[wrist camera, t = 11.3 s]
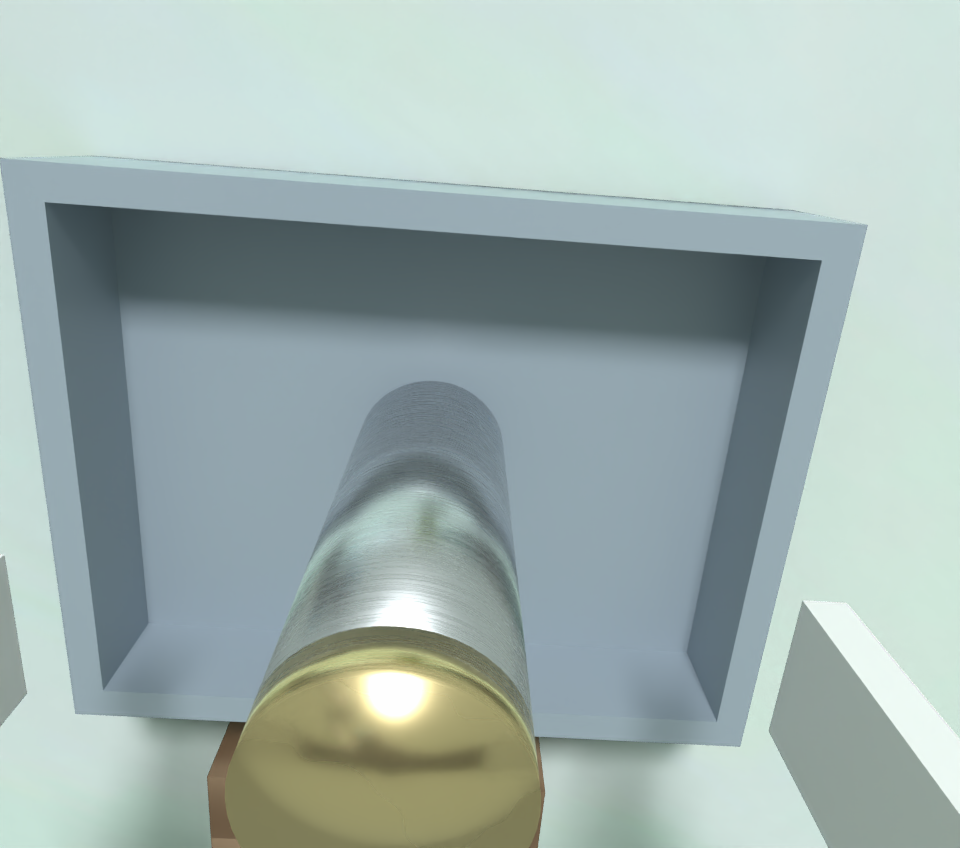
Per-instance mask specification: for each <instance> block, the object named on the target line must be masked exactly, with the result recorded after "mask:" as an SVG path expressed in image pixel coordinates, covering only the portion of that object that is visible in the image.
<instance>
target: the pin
mask: <svg viewBox="0 0 960 848" xmlns="http://www.w3.org/2000/svg"><path fill="white" fill-rule="evenodd" d="M225 804H226V811H227V816H228V819H229V822H230V826H231V829H232V831H233V833H234V835H235V837H236V839H237V841H238V843H239V845H240V846H241V848H529V847H530V845H531V843H532V841H533V838H534V836H535V833H536V831H537V827H538V823H539V818H540V814H541V790H540V781H539V772H538V763H537V753H536V744H535V735H534V726H533V716H532V707H531V698H530V688H529V679H528V670H527V661H526V651H525V642H524V633H523V624H522V614H521V605H520V596H519V586H518V577H517V568H516V559H515V549H514V540H513V531H512V522H511V512H510V503H509V494H508V484H507V475H506V466H505V457H504V447H503V439H502V434H501V430H500V427H499V425H498V423H497V420H496V419H495V417H494V415H493V414H492V412H491V411H490V409H489V408H488V407H487V406H486V405H485V404H484V403H483V402H482V401H481V400H480V399H479V398H478V397H476V396H475V395H474V394H472V393H471V392H469V391H467V390H465V389H464V388H461V387H459V386H456V385H454V384H450V383H446V382H440V381H420V382H414V383H410V384H406V385H403V386H401V387H398V388H396V389H394V390H392V391H391V392H389V393H388V394H386V395H385V396H383V397H382V398H381V399H380V400H379V401H378V402H377V403H376V404H375V405H374V406H373V407H372V409H371V410H370V411H369V413H368V415H367V416H366V418H365V420H364V423H363V425H362V428H361V430H360V433H359V435H358V438H357V440H356V443H355V446H354V448H353V451H352V453H351V456H350V458H349V461H348V463H347V466H346V468H345V471H344V474H343V476H342V479H341V481H340V484H339V486H338V489H337V491H336V494H335V497H334V499H333V502H332V504H331V507H330V509H329V512H328V514H327V517H326V519H325V522H324V525H323V527H322V530H321V532H320V535H319V537H318V540H317V542H316V545H315V548H314V550H313V553H312V555H311V558H310V560H309V563H308V565H307V568H306V571H305V573H304V576H303V578H302V581H301V583H300V586H299V588H298V591H297V593H296V596H295V599H294V601H293V604H292V606H291V609H290V611H289V614H288V616H287V619H286V622H285V624H284V627H283V629H282V632H281V634H280V637H279V639H278V642H277V644H276V647H275V650H274V652H273V655H272V657H271V660H270V662H269V665H268V667H267V670H266V673H265V675H264V678H263V680H262V683H261V685H260V688H259V690H258V693H257V695H256V698H255V701H254V703H253V706H252V708H251V711H250V713H249V716H248V718H247V721H246V724H245V726H244V729H243V731H242V734H241V736H240V739H239V741H238V744H237V747H236V749H235V752H234V754H233V757H232V759H231V762H230V764H229V767H228V772H227V777H226V781H225Z"/></svg>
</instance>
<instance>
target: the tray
mask: <svg viewBox="0 0 960 848" xmlns="http://www.w3.org/2000/svg"><path fill="white" fill-rule="evenodd" d="M0 166H1V174H2V181H3V188H4V195H5V203H6V210H7V217H8V225H9V232H10V239H11V247H12V254H13V261H14V269H15V276H16V283H17V290H18V298H19V305H20V312H21V320H22V327H23V334H24V342H25V349H26V356H27V364H28V371H29V378H30V385H31V393H32V400H33V407H34V415H35V422H36V429H37V437H38V444H39V451H40V459H41V466H42V473H43V480H44V488H45V495H46V502H47V510H48V517H49V524H50V532H51V539H52V546H53V554H54V561H55V568H56V575H57V583H58V590H59V597H60V605H61V612H62V619H63V627H64V634H65V641H66V649H67V656H68V663H69V670H70V678H71V685H72V692H73V700H74V707H75V714H90V715H110V716H131V717H151V718H171V719H191V720H211V721H232V722H246V721H247V718H248V716H249V713H250V711H251V708H252V706H253V703H254V701H255V698H256V695H257V693H258V690H259V688H260V685H261V683H262V680H263V678H264V675H265V673H266V670H267V667H268V665H269V662H270V660H271V657H272V655H273V652H274V650H275V647H276V644H277V642H278V639H279V637H280V634H281V632H282V629H283V627H284V624H285V622H286V619H287V616H288V614H289V611H290V609H291V606H292V604H293V601H294V599H295V596H296V593H297V591H298V588H299V586H300V583H301V581H302V578H303V576H304V573H305V571H306V568H307V565H308V563H309V560H310V558H311V555H312V553H313V550H314V548H315V545H316V542H317V540H318V537H319V535H320V532H321V530H322V527H323V525H324V522H325V519H326V517H327V514H328V512H329V509H330V507H331V504H332V502H333V499H334V497H335V494H336V491H337V489H338V486H339V484H340V481H341V479H342V476H343V474H344V471H345V468H346V466H347V463H348V461H349V458H350V456H351V453H352V451H353V448H354V446H355V443H356V440H357V438H358V435H359V433H360V430H361V428H362V425H363V423H364V420H365V418H366V416H367V415H368V413H369V411H370V410H371V409H372V407H373V406H374V405H375V404H376V403H377V402H378V401H379V400H380V399H381V398H382V397H383V396H385V395H386V394H388V393H389V392H391V391H392V390H394V389H396V388H398V387H401V386H403V385H406V384H410V383H414V382H420V381H440V382H446V383H450V384H454V385H456V386H459V387H461V388H464V389H465V390H467V391H469V392H471V393H472V394H474V395H475V396H476V397H478V398H479V399H480V400H481V401H482V402H483V403H484V404H485V405H486V406H487V407H488V408H489V409H490V411H491V412H492V414H493V415H494V417H495V419H496V420H497V423H498V425H499V427H500V430H501V434H502V439H503V447H504V457H505V466H506V475H507V484H508V494H509V503H510V512H511V522H512V531H513V540H514V549H515V559H516V568H517V577H518V586H519V596H520V605H521V614H522V624H523V633H524V642H525V651H526V661H527V670H528V679H529V688H530V698H531V707H532V716H533V726H534V735H535V737H555V738H575V739H595V740H616V741H636V742H656V743H676V744H697V745H717V746H737V747H740V745H741V741H742V737H743V733H744V729H745V725H746V721H747V716H748V712H749V708H750V704H751V700H752V696H753V692H754V688H755V684H756V680H757V676H758V672H759V667H760V663H761V659H762V655H763V651H764V647H765V643H766V639H767V635H768V631H769V627H770V623H771V618H772V614H773V610H774V606H775V602H776V598H777V594H778V590H779V586H780V582H781V578H782V574H783V569H784V565H785V561H786V557H787V553H788V549H789V545H790V541H791V537H792V533H793V529H794V524H795V520H796V516H797V512H798V508H799V504H800V500H801V496H802V492H803V488H804V484H805V480H806V475H807V471H808V467H809V463H810V459H811V455H812V451H813V447H814V443H815V439H816V435H817V431H818V426H819V422H820V418H821V414H822V410H823V406H824V402H825V398H826V394H827V390H828V386H829V381H830V377H831V373H832V369H833V365H834V361H835V357H836V353H837V349H838V345H839V341H840V337H841V332H842V328H843V324H844V320H845V316H846V312H847V308H848V304H849V300H850V296H851V292H852V288H853V283H854V279H855V275H856V271H857V267H858V263H859V259H860V255H861V251H862V247H863V243H864V239H865V234H866V230H867V226H868V225H865V224H860V223H855V222H850V221H844V220H839V219H834V218H829V217H824V216H819V215H814V214H809V213H804V212H799V211H794V210H784V209H771V208H758V207H745V206H732V205H719V204H706V203H694V202H681V201H668V200H655V199H642V198H629V197H616V196H603V195H590V194H578V193H565V192H552V191H539V190H526V189H513V188H500V187H487V186H474V185H462V184H449V183H436V182H423V181H410V180H397V179H384V178H371V177H358V176H346V175H333V174H320V173H307V172H294V171H281V170H268V169H255V168H242V167H230V166H217V165H204V164H191V163H178V162H165V161H152V160H139V159H127V158H114V157H101V156H65V157H25V158H0Z"/></svg>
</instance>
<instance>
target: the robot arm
mask: <svg viewBox="0 0 960 848" xmlns="http://www.w3.org/2000/svg"><path fill="white" fill-rule="evenodd" d="M26 694H27V691H26V685H25V679H24V673H23V667H22V660H21V654H20V648H19V642H18V636H17V630H16V623H15V617H14V611H13V605H12V599H11V593H10V587H9V580H8V574H7V568H6V562H5V556H4V555H3V554H0V726H1V725H2V724H3V723H4V721H5V720H6V719H7V718H8V716H9V715H10V714H11V713H12V711H13V710H14V709H15V708H16V707H17V705H18V704H19V703H20V702H21V700H22V699H23V698H24V697H25V695H26ZM769 733H770V735H771V737H772V738H773V740H774V742H775V744H776V746H777V748H778V750H779V752H780V754H781V756H782V758H783V760H784V762H785V764H786V766H787V768H788V770H789V772H790V774H791V776H792V777H793V779H794V781H795V783H796V785H797V787H798V789H799V791H800V793H801V795H802V797H803V799H804V801H805V803H806V805H807V807H808V809H809V811H810V813H811V815H812V817H813V818H814V820H815V822H816V824H817V826H818V828H819V830H820V832H821V834H822V836H823V838H824V840H825V842H826V844H827V846H828V848H960V739H959V737H958V736H957V735H956V734H955V733H954V731H953V730H952V729H951V728H950V726H949V725H948V724H947V723H946V722H945V720H944V719H943V718H942V717H941V716H940V714H939V713H938V712H937V711H936V710H935V708H934V707H933V706H932V705H931V704H930V702H929V701H928V700H927V699H926V698H925V696H924V695H923V694H922V693H921V691H920V690H919V689H918V688H917V687H916V685H915V684H914V683H913V682H912V681H911V679H910V678H909V677H908V676H907V675H906V673H905V672H904V671H903V670H902V669H901V667H900V666H899V665H898V664H897V662H896V661H895V660H894V659H893V658H892V656H891V655H890V654H889V653H888V652H887V650H886V649H885V648H884V647H883V646H882V644H881V643H880V642H879V641H878V640H877V638H876V637H875V636H874V635H873V634H872V632H871V631H870V630H869V629H868V627H867V626H866V625H865V624H864V623H863V621H862V620H861V619H860V618H859V617H858V615H857V614H856V613H855V612H854V611H853V609H852V608H851V607H850V606H849V605H848V603H841V602H823V601H806V600H802V604H801V608H800V612H799V616H798V620H797V623H796V627H795V631H794V635H793V639H792V643H791V647H790V650H789V654H788V658H787V662H786V666H785V670H784V674H783V678H782V681H781V685H780V689H779V693H778V697H777V701H776V705H775V708H774V712H773V716H772V720H771V724H770V728H769Z"/></svg>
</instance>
